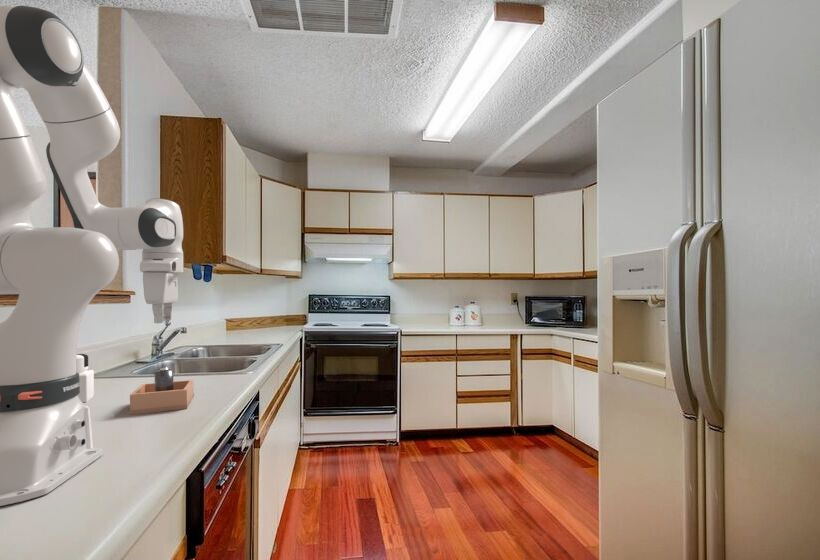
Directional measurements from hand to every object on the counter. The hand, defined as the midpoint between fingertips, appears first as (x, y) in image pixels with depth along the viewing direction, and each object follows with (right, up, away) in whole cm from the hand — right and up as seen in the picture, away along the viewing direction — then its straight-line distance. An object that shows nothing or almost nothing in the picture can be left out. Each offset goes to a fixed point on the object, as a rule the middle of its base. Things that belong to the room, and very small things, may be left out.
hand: (163, 321), depth 103 cm
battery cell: (0, -20, 0) cm, 20 cm away
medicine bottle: (-26, -21, +5) cm, 34 cm away
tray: (0, -21, 0) cm, 21 cm away
